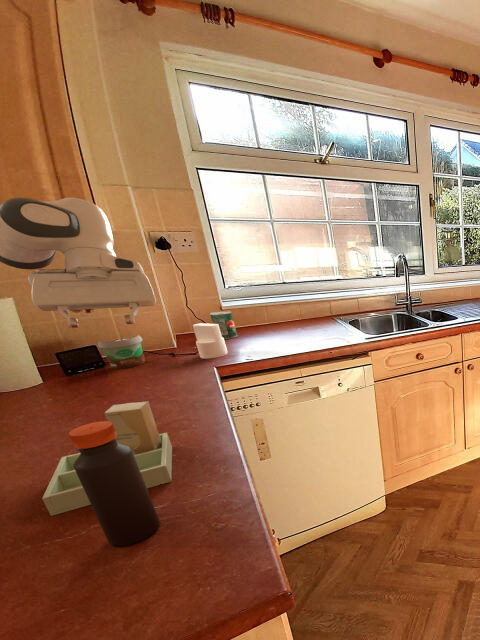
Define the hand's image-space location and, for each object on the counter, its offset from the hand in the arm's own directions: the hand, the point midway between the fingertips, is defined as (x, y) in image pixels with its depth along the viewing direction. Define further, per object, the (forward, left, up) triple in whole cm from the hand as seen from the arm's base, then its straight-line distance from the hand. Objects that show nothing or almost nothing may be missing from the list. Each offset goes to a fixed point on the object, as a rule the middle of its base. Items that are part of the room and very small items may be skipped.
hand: (102, 325), depth 95 cm
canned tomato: (-44, +86, -27) cm, 100 cm away
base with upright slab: (-30, +61, -27) cm, 73 cm away
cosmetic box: (+13, -12, -26) cm, 32 cm away
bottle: (+32, -33, -27) cm, 54 cm away
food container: (-51, +47, -27) cm, 74 cm away
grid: (+13, -18, -27) cm, 35 cm away
